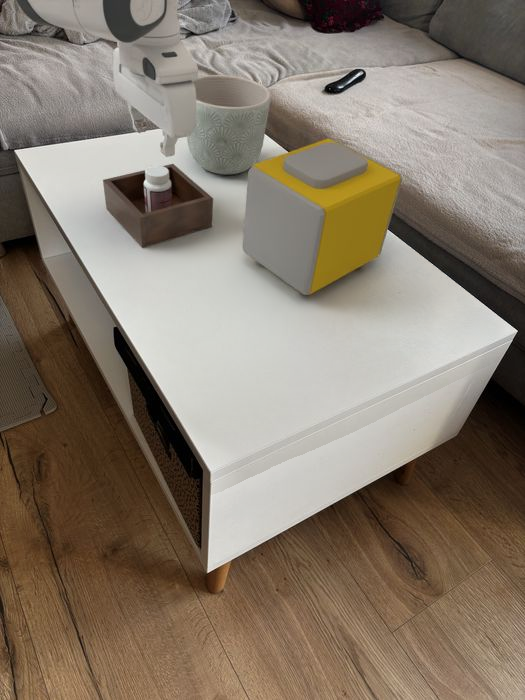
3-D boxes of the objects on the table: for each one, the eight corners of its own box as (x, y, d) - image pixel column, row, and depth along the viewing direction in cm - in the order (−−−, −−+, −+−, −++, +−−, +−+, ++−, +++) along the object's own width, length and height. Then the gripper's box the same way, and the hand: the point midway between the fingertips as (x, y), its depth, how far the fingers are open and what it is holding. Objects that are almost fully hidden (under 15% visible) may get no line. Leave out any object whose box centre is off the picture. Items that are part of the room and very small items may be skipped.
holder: (142, 248, 92) (139, 218, 88) (106, 208, 100) (102, 179, 96) (212, 226, 99) (213, 198, 95) (173, 191, 106) (173, 163, 102)
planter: (168, 156, 117) (166, 81, 106) (233, 141, 125) (237, 69, 114) (213, 192, 108) (215, 114, 97) (279, 173, 116) (288, 99, 105)
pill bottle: (177, 213, 100) (176, 170, 94) (160, 224, 97) (158, 180, 91) (157, 204, 101) (155, 161, 95) (140, 214, 98) (136, 171, 92)
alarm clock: (314, 223, 103) (332, 126, 90) (380, 264, 96) (409, 164, 83) (236, 259, 93) (243, 155, 80) (302, 308, 85) (322, 202, 72)
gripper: (98, 30, 84) (107, 120, 93) (164, 76, 73) (166, 173, 83) (136, 27, 87) (141, 115, 97) (204, 71, 76) (202, 165, 86)
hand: (153, 142), depth 89 cm, fingers open, 8 cm apart
